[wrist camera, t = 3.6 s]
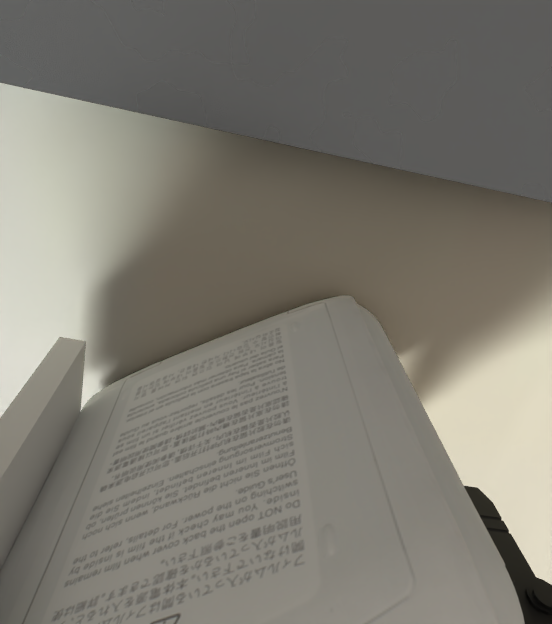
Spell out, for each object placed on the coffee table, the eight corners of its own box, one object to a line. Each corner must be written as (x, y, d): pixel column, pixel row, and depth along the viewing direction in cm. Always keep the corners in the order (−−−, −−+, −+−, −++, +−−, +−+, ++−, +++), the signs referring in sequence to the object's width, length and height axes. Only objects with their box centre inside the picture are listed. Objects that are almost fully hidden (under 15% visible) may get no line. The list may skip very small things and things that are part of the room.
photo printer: (132, 482, 19) (-31, 1058, 8) (68, 389, 18) (-256, 953, 6) (401, 379, 18) (662, 882, 7) (359, 269, 16) (614, 696, 5)
